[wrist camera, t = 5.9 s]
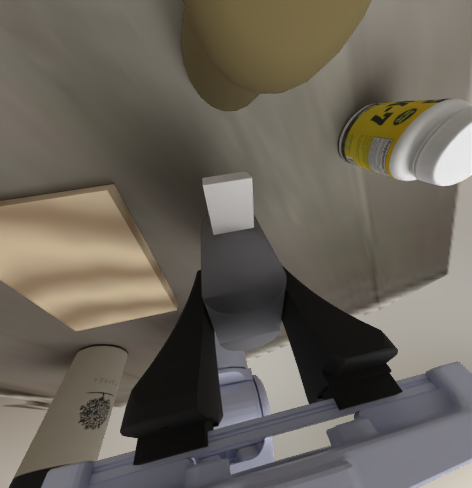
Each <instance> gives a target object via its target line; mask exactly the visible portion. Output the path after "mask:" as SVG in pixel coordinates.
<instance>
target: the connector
mask: <svg viewBox="0 0 472 488" xmlns="http://www.w3.org/2000/svg"><path fill="white" fill-rule="evenodd" d="M202 181H203V189H204V194H205V198H206V203H207V207H208V212H209V214H208V215H207V216H206V217H205V219H204V220H203V223H202V225H201V281H202V298H203V301H204V304H205V306H206V309H207V312H208V314H209V317H210V320H211V322H212V325H213V328H214V330H215V333H216V336H217V338H218V341H219V344H220V346H221V347H222V348H224V349H226V350H230V351H245V350H251V349H255V348H258V347H261V346H263V345H265V344H267V343H269V342H271V341H272V340H273V339H274V338H276V337H277V335H278V334H279V332H280V325H281V318H282V311H283V303H284V296H285V288H286V280H287V277H286V273H285V271H284V269H283V267H282V265H281V263H280V262H279V260H278V258H277V256H276V254H275V252H274V251H273V249H272V247H271V245H270V243H269V241H268V240H267V238H266V236H265V234H264V232H263V230H262V229H261V227H260V225H259V223H258V221H257V219H256V218H255V216H254V214H253V186H252V177H251V176H250V175H249V173H248V172H247V171H245V172H238V173H231V174H225V175H218V176H212V177H205V178H202Z"/></svg>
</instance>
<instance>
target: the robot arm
mask: <svg viewBox="0 0 472 488" xmlns="http://www.w3.org/2000/svg"><path fill="white" fill-rule="evenodd" d="M282 267H283V266H282ZM283 269H284V271H285V273H286V277H287V280H286V288H285V296H284V303H283V311H282V318H281V319H282V322H283V324H284V327H285V330H286V333H287V336H288V339H289V342H290V345H291V347H292V351H293V354H294V357H295V360H296V363H297V366H298V369H299V373H300V376H301V379H302V383H303V386H304V389H305V393H306V396H307V399H308V402H309V405H305V406H301V407H297V408H294V409H290V410H286V411H283V412H279V413H275V414H270V408H269V402H268V398H267V395H266V391H265V388H264V386H263V383H262V382H261V380H260V379H259V378H258V377H257V376H256V375H252V372H251V368H248V367H247V362H246V357H245V352H244V351H230V350H226V349H224V348H222V347H221V346H220V344H219V341H218V338H217V336H216V333H215V330H214V328H213V325H212V322H211V320H210V317H209V314H208V312H207V309H206V306H205V304H204V301H203V298H202V281H201V270H199V271H198V272H197V275H196V278H195V282H194V285H193V288H192V291H191V293H190V296H189V298H188V301H187V303H186V305H185V308H184V310H183V312H182V314H181V316H180V318H179V320H178V322H177V324H176V326H175V328H174V329H173V331H172V333H171V335H170V336H169V338H168V340H167V341H166V343H165V344H164V346H163V348H162V349H161V351H160V352H159V354H158V355H157V356H156V358H155V359H154V361H153V362H152V364H151V365H150V367H149V368H148V369H147V371H146V372H145V373H144V375H143V376H142V377H141V379H140V380H139V381H138V383H137V384H136V385H135V387H134V388H133V389H132V391H131V394H130V397H129V400H128V403H127V406H126V409H125V413H124V418H123V422H122V426H121V429H120V433H121V434H122V435H123V436H127V437H133V438H138V441H137V446H136V451H132V452H129V453H125V454H121V455H118V456H114V457H110V458H106V459H102V460H99V461H95V462H94V461H81V462H77V463H73V464H69V465H65V466H61V467H58V468H54V469H51V470H50V471H49V472H48V473H47V475H46V477H45V480H44V482H43V484H42V487H41V488H418V487H420V486H422V485H424V484H426V483H428V482H431V481H433V480H435V479H437V478H439V477H441V476H443V475H445V474H447V473H449V472H452V471H454V470H456V469H458V468H460V467H462V466H464V465H466V464H468V463H470V462H472V373H471V372H469V371H468V370H467V369H466V368H465V367H464V366H463V365H462V364H461V363H460V362H454V363H450V364H447V365H442V366H439V367H436V368H433V369H431V370H429V371H427V372H426V373H425V374H421V375H417V376H414V377H410V378H406V379H402V380H399V381H395V380H394V379H393V377H392V376H391V374H390V372H391V369H390V368H389V366H388V365H387V364H386V363H387V362H388V361H389V360H390V359H392V358H393V357H394V356H395V355H397V353H398V349H397V348H396V347H395V346H394V345H393V343H392V342H391V341H390V340H389V339H388V337H387V336H386V335H385V334H384V333H383V332H382V331H381V330H379V329H377V328H375V327H373V326H371V325H369V324H366V323H364V322H362V321H360V320H358V319H356V318H354V317H353V316H351V315H349V314H347V313H345V312H343V311H342V310H340V309H338V308H337V307H335V306H333V305H332V304H330V303H328V302H327V301H325V300H324V299H322V298H321V297H319V296H318V295H317V294H315V293H314V292H312V291H311V290H310V289H308V288H307V287H306V286H305V285H303V284H302V283H301V282H300V281H298V280H297V279H296V278H295V277H294V276H293V275H292V274H291V273H289V272H288V271H287V270H286V269H285V268H284V267H283ZM354 413H355V415H354V420H353V421H350V422H347V423H343V424H340V425H337V426H336V427H334V428H331V429H328V430H327V435H328V438H329V440H330V443H331V446H328V447H324V448H321V449H317V450H313V451H310V452H306V453H303V454H299V455H296V456H292V457H288V458H285V459H281V460H278V461H275V462H274V456H273V455H274V448H273V440H272V436H275V435H278V434H282V433H285V432H289V431H293V430H296V429H300V428H303V427H307V426H311V425H314V424H318V423H322V422H325V421H328V420H332V419H336V418H339V417H343V416H347V415H350V414H354Z"/></svg>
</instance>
